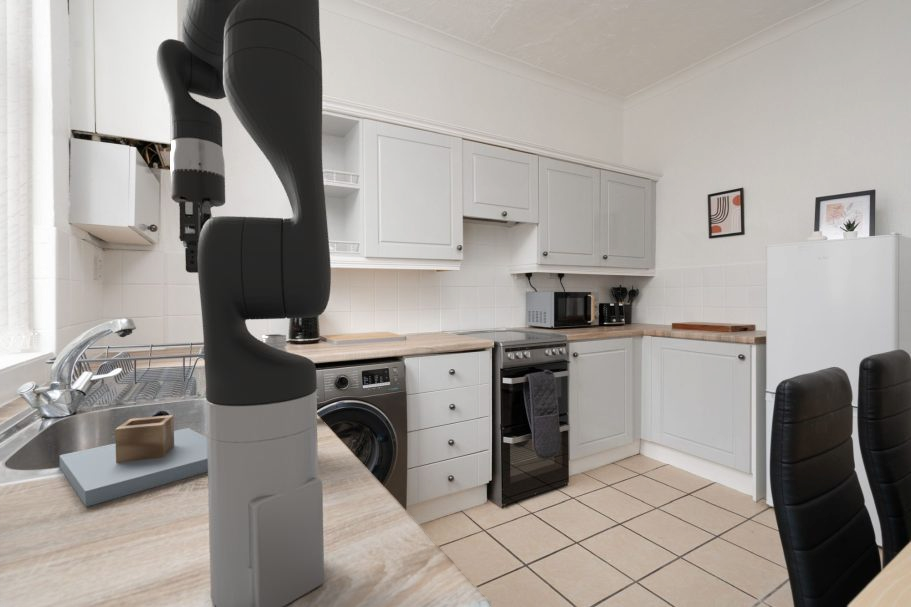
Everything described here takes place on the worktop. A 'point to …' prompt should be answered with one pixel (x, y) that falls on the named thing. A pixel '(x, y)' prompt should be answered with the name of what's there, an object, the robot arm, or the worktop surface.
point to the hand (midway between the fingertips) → (200, 274)
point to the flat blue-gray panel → (132, 468)
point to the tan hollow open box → (144, 438)
